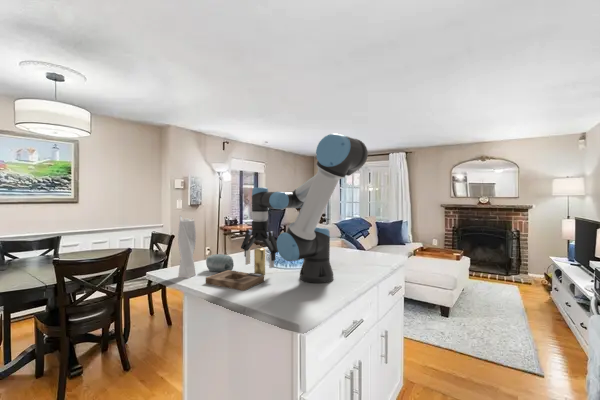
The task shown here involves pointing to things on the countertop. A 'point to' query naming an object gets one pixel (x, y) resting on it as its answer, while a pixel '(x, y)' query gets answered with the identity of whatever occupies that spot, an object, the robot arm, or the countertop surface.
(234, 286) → the jig
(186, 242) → the skyscraper
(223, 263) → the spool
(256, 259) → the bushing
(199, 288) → the countertop surface
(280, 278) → the countertop surface
